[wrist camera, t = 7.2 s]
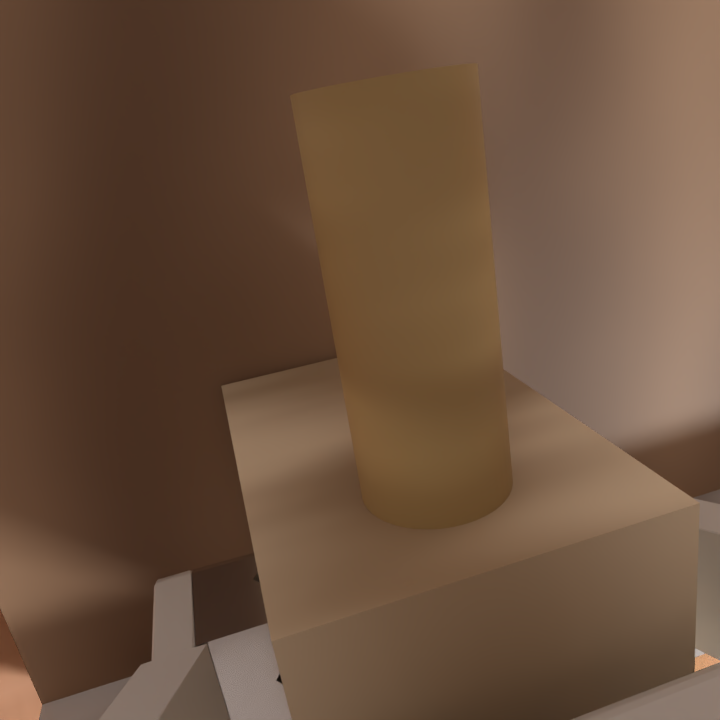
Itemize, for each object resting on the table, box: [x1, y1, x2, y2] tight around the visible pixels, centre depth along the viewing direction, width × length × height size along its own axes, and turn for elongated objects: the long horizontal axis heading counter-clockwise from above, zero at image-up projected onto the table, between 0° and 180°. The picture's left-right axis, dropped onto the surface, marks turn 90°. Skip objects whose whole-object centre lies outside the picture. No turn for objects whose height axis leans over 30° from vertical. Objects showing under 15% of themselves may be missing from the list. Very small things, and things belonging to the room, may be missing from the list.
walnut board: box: [0, 0, 720, 720], centre depth 12 cm, size 22×14×4 cm, turn 98°
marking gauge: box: [221, 63, 700, 720], centre depth 9 cm, size 4×9×6 cm, turn 9°
